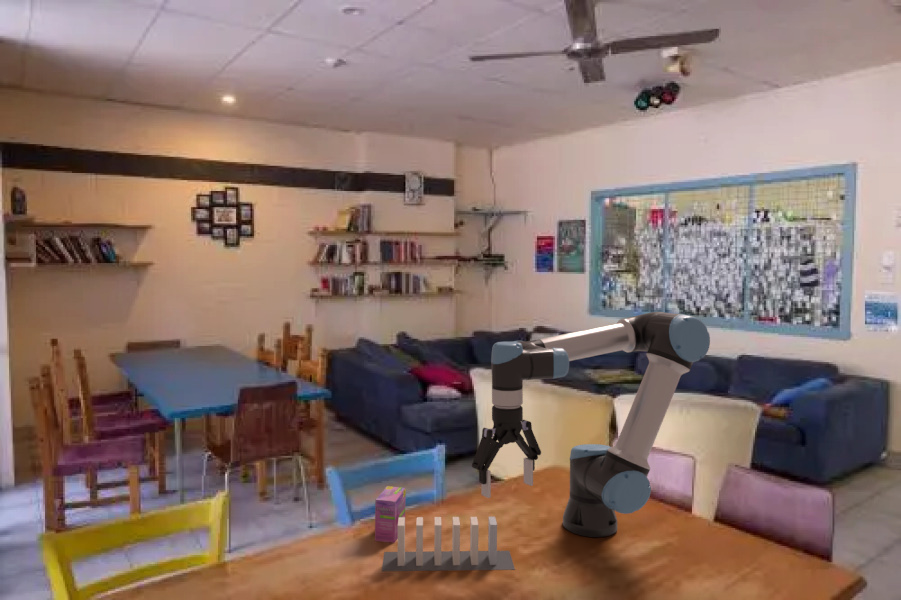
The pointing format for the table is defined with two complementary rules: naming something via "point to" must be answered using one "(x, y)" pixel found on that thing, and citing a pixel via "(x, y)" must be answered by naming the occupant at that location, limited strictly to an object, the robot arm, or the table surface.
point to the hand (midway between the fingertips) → (507, 490)
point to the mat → (447, 561)
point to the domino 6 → (492, 540)
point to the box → (389, 513)
